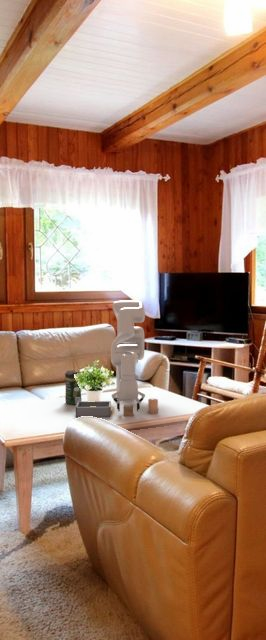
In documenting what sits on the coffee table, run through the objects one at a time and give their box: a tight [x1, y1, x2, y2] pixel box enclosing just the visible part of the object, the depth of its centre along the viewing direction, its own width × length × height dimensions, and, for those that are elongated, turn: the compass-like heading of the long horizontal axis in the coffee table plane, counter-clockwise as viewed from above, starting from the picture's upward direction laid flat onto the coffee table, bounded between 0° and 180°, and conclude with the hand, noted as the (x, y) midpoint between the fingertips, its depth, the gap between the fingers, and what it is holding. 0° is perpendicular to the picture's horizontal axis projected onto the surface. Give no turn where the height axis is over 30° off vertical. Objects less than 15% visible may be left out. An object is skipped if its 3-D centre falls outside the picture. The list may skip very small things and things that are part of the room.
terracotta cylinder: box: [147, 398, 159, 415], centre depth 280 cm, size 5×5×7 cm
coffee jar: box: [64, 369, 82, 406], centre depth 302 cm, size 10×8×19 cm
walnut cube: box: [123, 403, 134, 417], centre depth 276 cm, size 5×5×5 cm
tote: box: [75, 400, 112, 418], centre depth 278 cm, size 14×18×5 cm
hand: (128, 410), depth 275 cm, fingers open, 9 cm apart
